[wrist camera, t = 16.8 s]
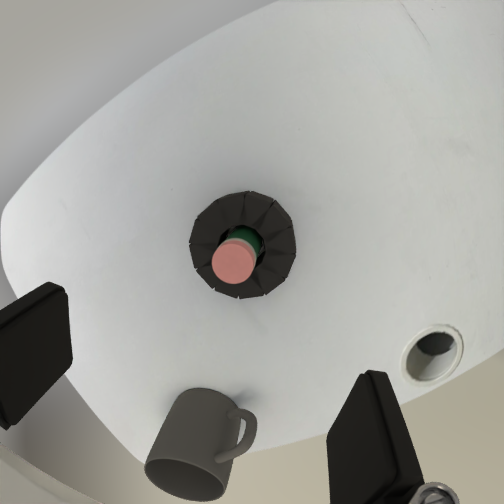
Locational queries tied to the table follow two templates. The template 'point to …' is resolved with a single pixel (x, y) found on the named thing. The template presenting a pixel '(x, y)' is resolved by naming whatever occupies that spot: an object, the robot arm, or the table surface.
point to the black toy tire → (255, 216)
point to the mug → (199, 445)
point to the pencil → (237, 255)
